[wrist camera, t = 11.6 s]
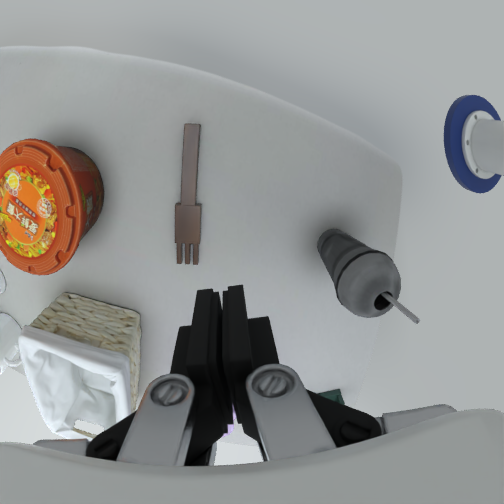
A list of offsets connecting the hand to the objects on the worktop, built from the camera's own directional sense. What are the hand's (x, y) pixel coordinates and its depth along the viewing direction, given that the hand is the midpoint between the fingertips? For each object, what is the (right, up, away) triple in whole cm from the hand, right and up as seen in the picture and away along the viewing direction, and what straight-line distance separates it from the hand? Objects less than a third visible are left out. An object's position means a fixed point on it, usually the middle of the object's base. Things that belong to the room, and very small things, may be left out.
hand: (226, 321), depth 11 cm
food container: (-25, +11, +23) cm, 36 cm away
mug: (-46, -13, +31) cm, 57 cm away
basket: (-25, -14, +33) cm, 44 cm away
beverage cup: (+12, +4, +29) cm, 32 cm away
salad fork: (-7, +10, +25) cm, 28 cm away
